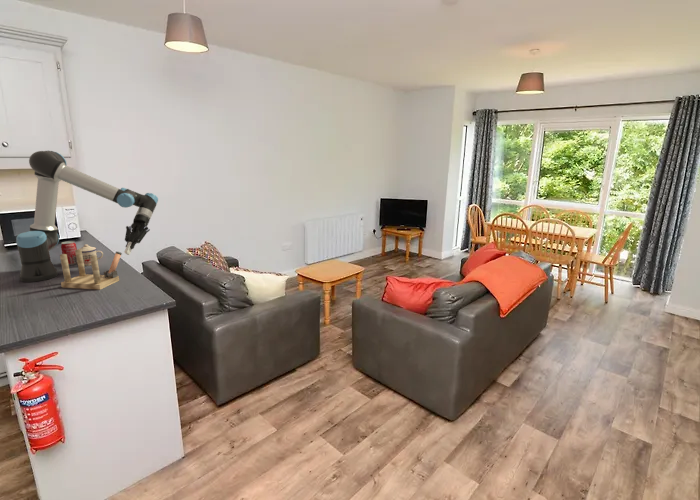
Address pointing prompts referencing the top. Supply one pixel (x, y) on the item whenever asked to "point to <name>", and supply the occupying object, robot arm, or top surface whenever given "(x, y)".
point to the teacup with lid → (89, 254)
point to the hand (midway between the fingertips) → (126, 253)
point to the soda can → (69, 251)
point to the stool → (86, 279)
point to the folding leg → (114, 263)
